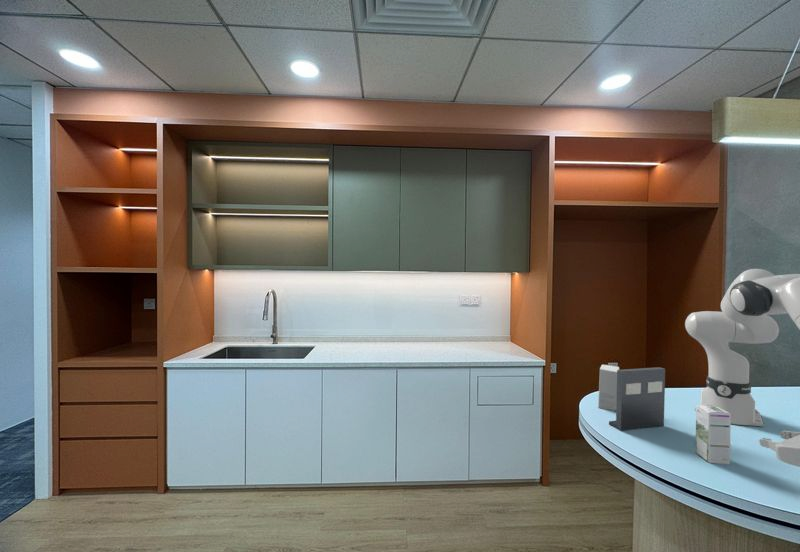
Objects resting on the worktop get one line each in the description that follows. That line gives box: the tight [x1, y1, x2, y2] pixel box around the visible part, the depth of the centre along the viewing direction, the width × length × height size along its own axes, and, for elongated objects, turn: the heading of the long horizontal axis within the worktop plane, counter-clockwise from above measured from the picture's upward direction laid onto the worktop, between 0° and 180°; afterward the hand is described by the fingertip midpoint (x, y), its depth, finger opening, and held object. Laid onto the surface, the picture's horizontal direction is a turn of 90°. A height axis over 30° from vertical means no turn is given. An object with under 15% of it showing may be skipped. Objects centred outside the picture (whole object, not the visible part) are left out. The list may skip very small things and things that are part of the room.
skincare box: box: [597, 364, 620, 412], centre depth 141 cm, size 8×7×16 cm
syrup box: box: [695, 404, 732, 466], centre depth 102 cm, size 6×6×14 cm
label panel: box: [608, 366, 666, 432], centre depth 124 cm, size 18×5×20 cm, turn 103°
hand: (771, 437), depth 92 cm, fingers open, 8 cm apart
